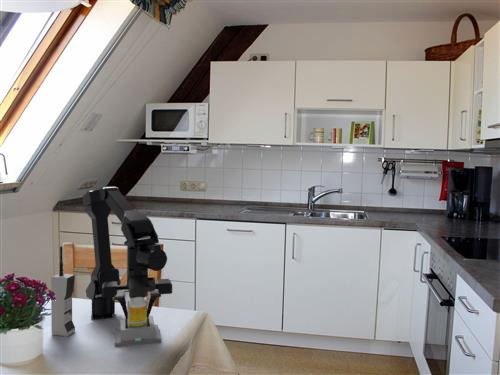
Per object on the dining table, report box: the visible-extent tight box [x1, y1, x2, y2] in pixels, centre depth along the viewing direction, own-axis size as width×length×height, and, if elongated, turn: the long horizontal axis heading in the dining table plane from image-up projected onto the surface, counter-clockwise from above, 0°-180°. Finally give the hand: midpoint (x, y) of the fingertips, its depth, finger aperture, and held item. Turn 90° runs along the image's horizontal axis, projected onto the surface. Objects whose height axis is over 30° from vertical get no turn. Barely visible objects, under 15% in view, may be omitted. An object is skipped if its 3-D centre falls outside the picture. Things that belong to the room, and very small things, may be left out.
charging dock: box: [114, 315, 162, 348], centre depth 121 cm, size 12×10×4 cm
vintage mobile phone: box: [50, 246, 76, 337], centre depth 121 cm, size 4×5×25 cm
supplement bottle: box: [126, 297, 148, 328], centre depth 121 cm, size 5×5×10 cm
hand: (137, 317), depth 121 cm, fingers closed on supplement bottle, 5 cm apart
